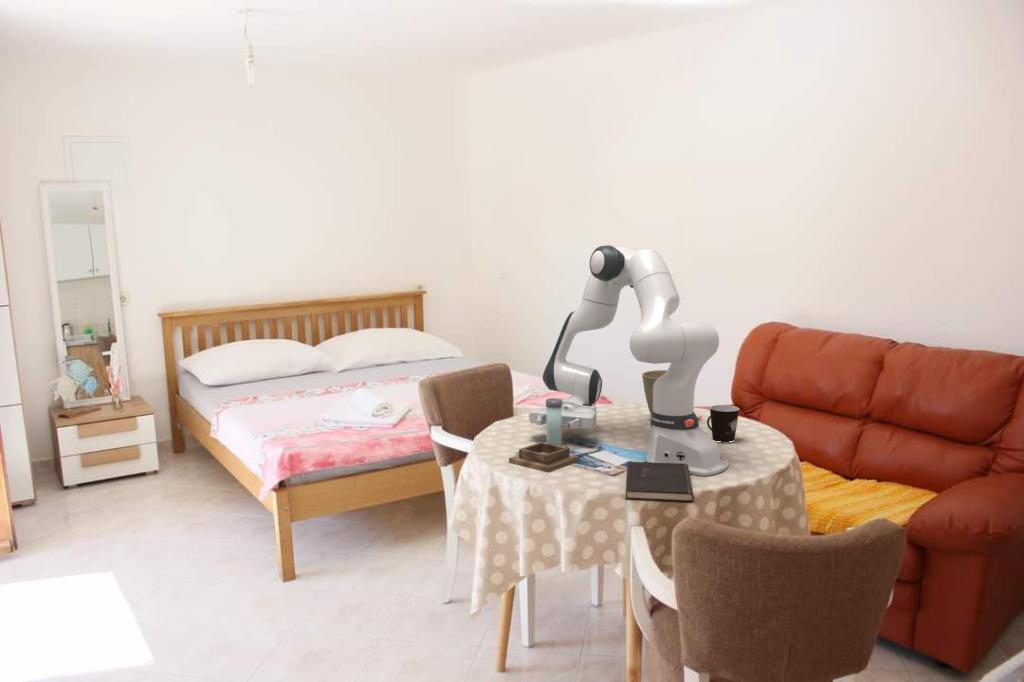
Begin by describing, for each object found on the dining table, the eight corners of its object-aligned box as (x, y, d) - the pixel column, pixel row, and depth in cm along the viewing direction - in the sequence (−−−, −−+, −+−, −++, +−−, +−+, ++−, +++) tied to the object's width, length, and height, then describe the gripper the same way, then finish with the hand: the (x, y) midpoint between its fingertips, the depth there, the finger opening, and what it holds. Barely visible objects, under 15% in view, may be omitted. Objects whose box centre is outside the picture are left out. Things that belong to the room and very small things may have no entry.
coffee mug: (729, 435, 262) (730, 404, 261) (743, 443, 254) (744, 410, 252) (694, 438, 259) (695, 406, 258) (707, 445, 251) (708, 412, 250)
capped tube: (565, 448, 249) (565, 399, 247) (555, 451, 245) (555, 402, 243) (552, 445, 252) (552, 397, 250) (542, 448, 248) (542, 400, 246)
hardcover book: (625, 499, 205) (625, 490, 204) (627, 469, 227) (627, 461, 227) (692, 502, 202) (693, 493, 202) (688, 472, 225) (688, 463, 224)
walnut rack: (579, 460, 237) (579, 447, 236) (548, 472, 226) (548, 458, 226) (540, 451, 246) (540, 439, 245) (509, 462, 235) (508, 449, 235)
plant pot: (635, 417, 286) (636, 371, 284) (677, 415, 289) (678, 369, 286) (650, 428, 272) (651, 379, 269) (693, 426, 274) (695, 377, 272)
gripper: (537, 400, 264) (521, 410, 251) (601, 406, 256) (586, 416, 243) (537, 420, 265) (521, 431, 252) (600, 426, 257) (586, 437, 244)
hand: (554, 423), depth 247 cm, fingers open, 8 cm apart
